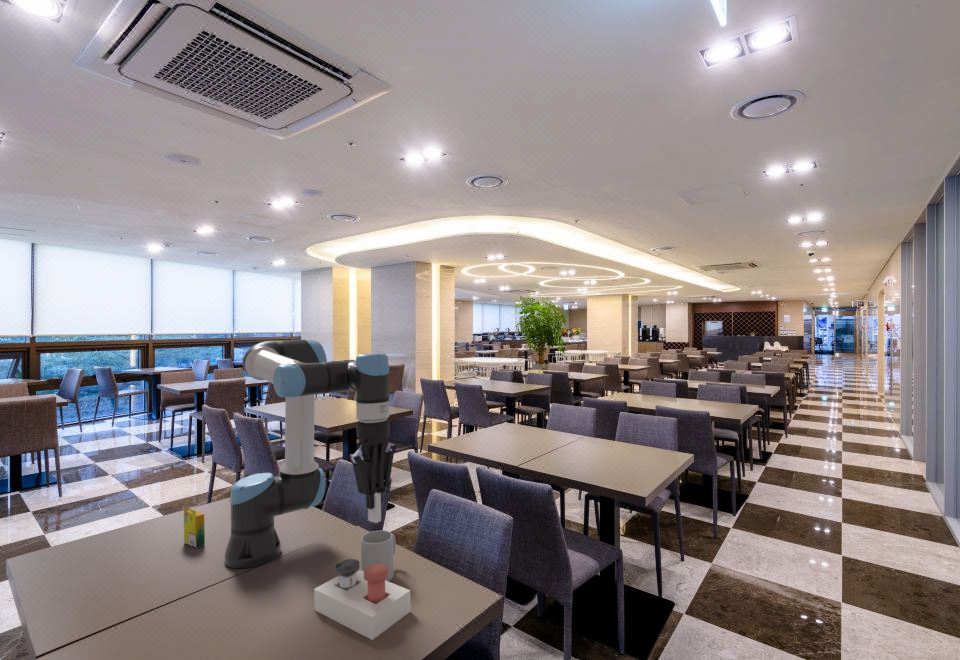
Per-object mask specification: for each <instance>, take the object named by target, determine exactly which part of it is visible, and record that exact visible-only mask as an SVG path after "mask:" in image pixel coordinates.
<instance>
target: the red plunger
mask: <svg viewBox="0 0 960 660" xmlns="http://www.w3.org/2000/svg"><path fill="white" fill-rule="evenodd" d="M387 576H388V567H387V566H386V565H383V564H375V565H371V566H369V567H367V568H366V569H365V570H364V579H365V580H366V581H367V588H368V601H370V602H372V603H374V604H377V603H379V602H380V601H382V600H383V599H385V578H386V577H387Z"/></svg>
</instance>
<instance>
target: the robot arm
mask: <svg viewBox="0 0 960 660" xmlns="http://www.w3.org/2000/svg"><path fill="white" fill-rule="evenodd" d="M241 362H242V364H241V365H242V368H243V371H244V372H245V373H246V375H247V376H249V377H250V378H251V379H254V380H257V381H266V382H269V383H270V384H272V385H273V389H274V392H275V394H276V395H277V396H278V397H279V398H285V415H284V417H285V421H284V422H285V423H284V425H285V426H284V428H285V431H284V432H285V433H284V434H285V435H284V436H285V437H284V438H285V439H284V451H285V452H284V463H283V464H282V465H281V466H280V467H279V475H277V476H275V475H273V473H271V472H263V473H261V472H260V473H254V474H250V475H249V476H245V477H243V478H240V479H239V480H238V481H236V482H235V483H234V484H233V485H232V486H231V488H230V498H229V504H230V537H229V540H228V541H227V542H228V543H227V546H226V549H225V552H224V565H226V566H227V567H228V568H232V569H248V568H254V567H257V566H261V565H264V564H266V563H269V562H270V561H273V560H274V559H276V558H277V557H278V556H279V555H280V553H281V551H282V550H281V549H282V548H281V547H282V545H281V544H282V543H281V541H280V538H279V536H278V532H277V530H276V527H275V517H277V516H282V515H286V514H289V513H292V512H296V511H297V512H298V511H301V510H306V509H309V508H310V507H315V506H317V505H319V504H320V503H321V502H322V500H323V498H324V497H325V493H326V479H325V477H326V476H325V472H324V470H323V469H322V468H321V467H319V463H318V462H316V461H315V456H314V455H315V399H316V398H315V396H316V395H323V394H333V393H335V394H336V393H344V392H355V394H356V397H355V399H356V400H355V401H356V406H355V407H356V409H355V410H356V411H355V412H356V418H355V419H357V422H356V437H357V438H358V444H357V450H356V451H355V452H354V453H353V454H349V455H348V459H349V461H350V463H351V465H352V467H353V473H354V477H355V481H356V482H355V483H356V487H357V491H358V493H359V494H362V495H365V506H366V509H367V517H368V518H367V521H368V522H372V523H375V524H378V523H379V522H381V521H382V505H383V493H386V491H387V489H386V488H389V486H390V482H391V475H392V468H393V464H394V463H393V461H394V455H395V454H396V453H395V452H396V450H397V444H394V443H391V442H390V440H389V437H390V433H391V427H390V422H391V421H390V420H389V419H388V418H389V417H390V366H389V357H388V355H387V354H386V353H375V352H372V353H371V352H370V353H358V354H357V356H356V357H355V359H344V360H340V361H339V360H338V361H328V358H327V355H326V351H325V349H324V347H323V345H322V344H321V343H320V342H319V341H317V340H314V339H289V340H288V339H285V340H267V341H262V342H259V343H255V344H254V345H252V346H251V347H250V348H248V349H247V350H246V352H245V353H244V355H243V357H242V361H241Z"/></svg>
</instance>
